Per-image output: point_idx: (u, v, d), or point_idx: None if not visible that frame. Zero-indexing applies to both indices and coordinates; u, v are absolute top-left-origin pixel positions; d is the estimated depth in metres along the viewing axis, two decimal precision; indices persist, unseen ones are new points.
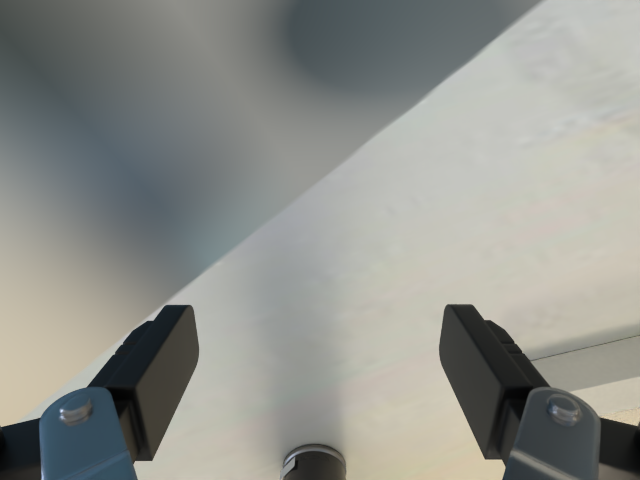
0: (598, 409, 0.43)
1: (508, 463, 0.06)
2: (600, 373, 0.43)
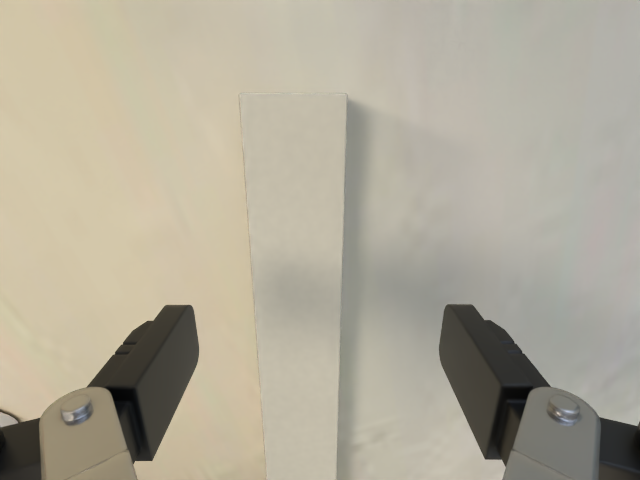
0: (274, 288, 0.20)
1: (508, 463, 0.06)
2: None
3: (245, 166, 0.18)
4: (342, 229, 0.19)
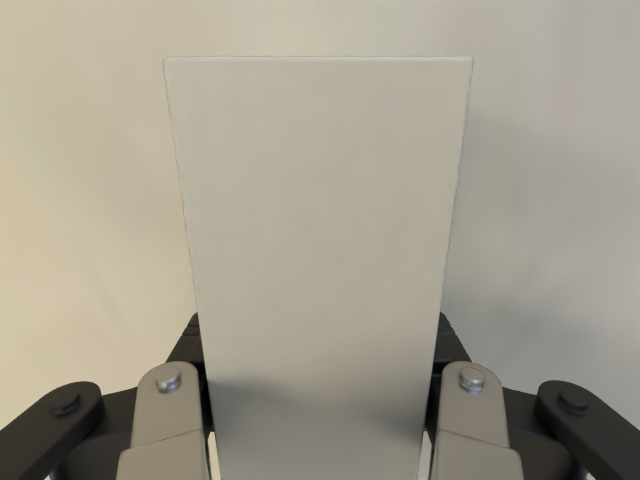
0: None
1: (438, 444, 0.06)
2: None
3: (192, 251, 0.07)
4: (427, 386, 0.08)
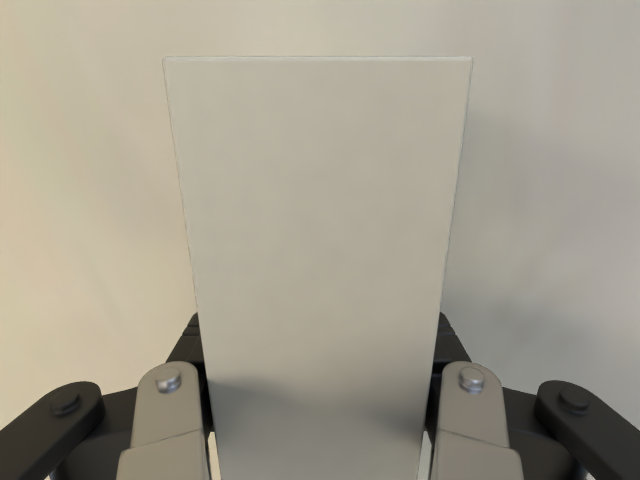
0: None
1: (438, 444, 0.06)
2: None
3: (192, 251, 0.07)
4: (427, 386, 0.08)
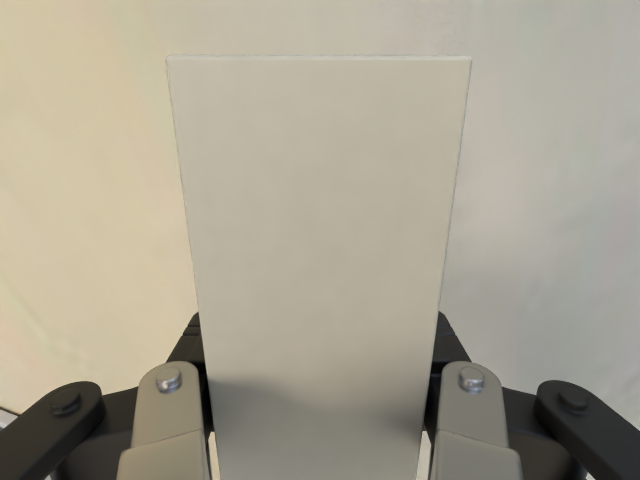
0: None
1: (438, 444, 0.06)
2: None
3: (193, 247, 0.07)
4: (426, 384, 0.08)
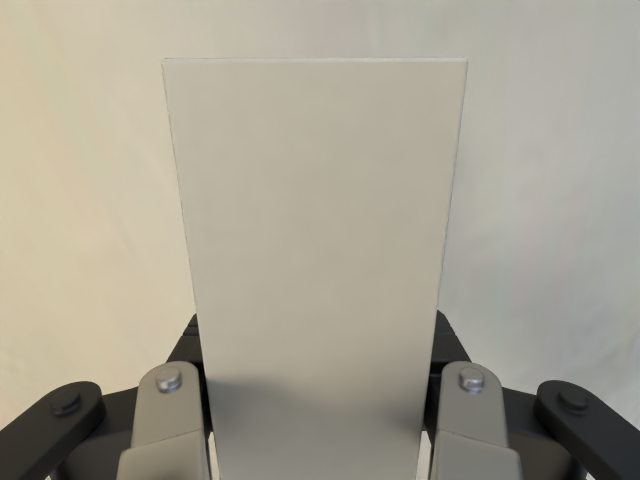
0: None
1: (438, 444, 0.06)
2: None
3: (190, 250, 0.07)
4: (425, 385, 0.08)
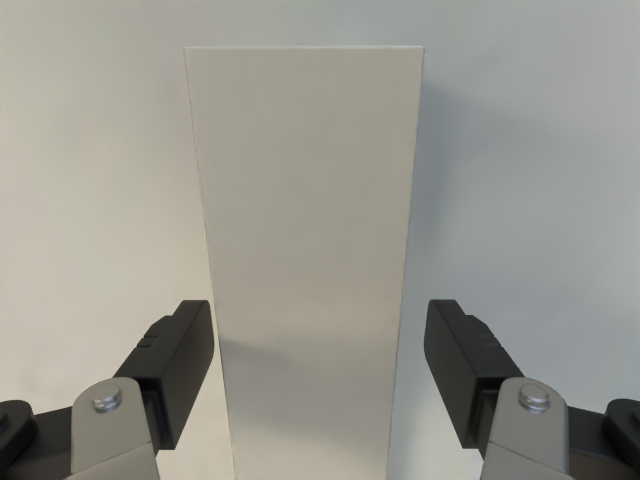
0: (268, 419, 0.11)
1: (486, 455, 0.06)
2: None
3: (204, 203, 0.09)
4: (398, 320, 0.10)
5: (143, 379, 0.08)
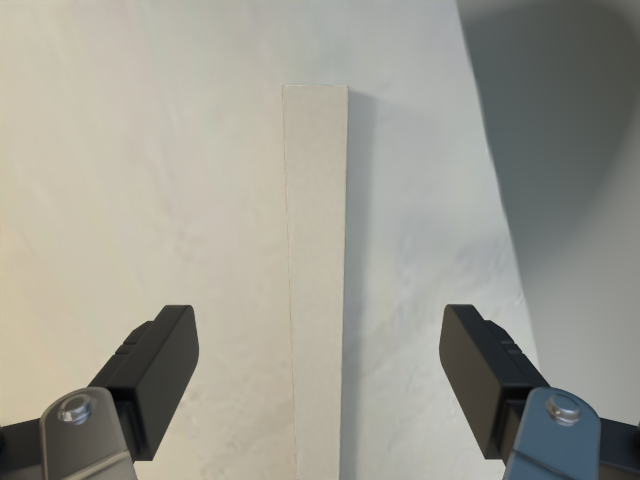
0: (301, 214, 0.31)
1: (508, 463, 0.06)
2: None
3: (285, 131, 0.28)
4: (345, 173, 0.29)
5: (117, 389, 0.08)
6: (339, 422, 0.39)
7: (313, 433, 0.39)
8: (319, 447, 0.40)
